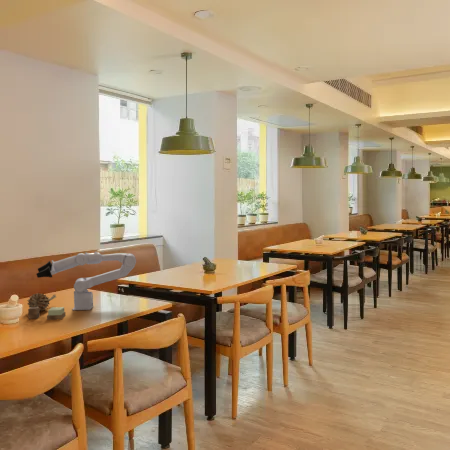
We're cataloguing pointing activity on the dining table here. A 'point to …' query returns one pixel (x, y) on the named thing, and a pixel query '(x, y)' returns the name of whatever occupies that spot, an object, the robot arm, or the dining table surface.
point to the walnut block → (33, 312)
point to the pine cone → (39, 301)
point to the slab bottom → (55, 317)
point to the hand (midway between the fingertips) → (37, 273)
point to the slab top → (56, 311)
